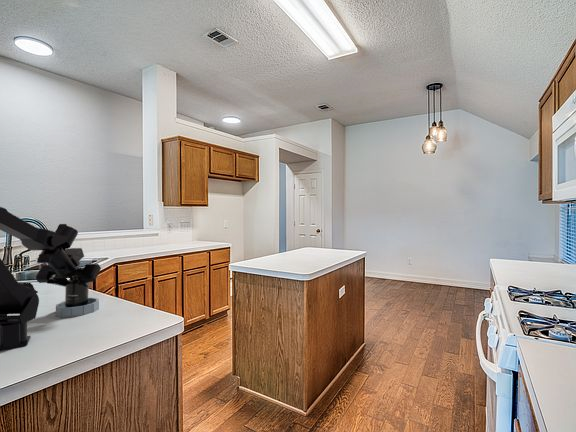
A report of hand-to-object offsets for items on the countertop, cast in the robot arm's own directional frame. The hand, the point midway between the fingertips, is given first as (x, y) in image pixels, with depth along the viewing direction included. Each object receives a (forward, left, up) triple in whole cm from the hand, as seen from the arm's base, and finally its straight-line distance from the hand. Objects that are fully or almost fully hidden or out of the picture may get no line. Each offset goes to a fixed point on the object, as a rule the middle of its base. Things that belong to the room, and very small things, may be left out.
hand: (79, 286), depth 112 cm
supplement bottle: (-1, +1, -7) cm, 7 cm away
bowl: (-1, +1, -9) cm, 9 cm away
